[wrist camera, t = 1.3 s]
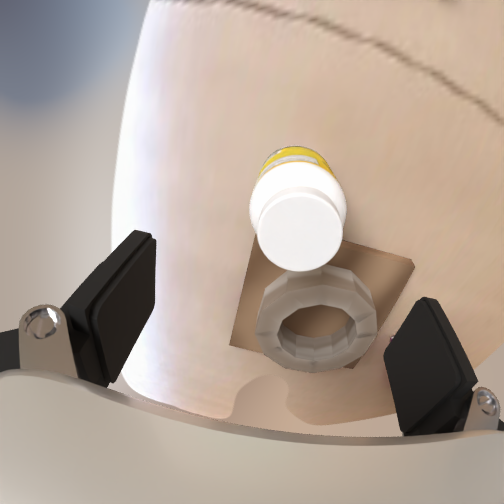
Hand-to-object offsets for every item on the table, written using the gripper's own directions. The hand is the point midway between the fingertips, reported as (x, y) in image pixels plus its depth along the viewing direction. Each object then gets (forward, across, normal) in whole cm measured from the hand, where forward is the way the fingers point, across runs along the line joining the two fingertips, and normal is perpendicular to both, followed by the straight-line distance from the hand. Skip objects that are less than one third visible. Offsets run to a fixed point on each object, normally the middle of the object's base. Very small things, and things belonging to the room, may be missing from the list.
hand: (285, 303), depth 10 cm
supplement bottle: (+14, -1, -1) cm, 14 cm away
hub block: (+14, -6, +10) cm, 19 cm away
